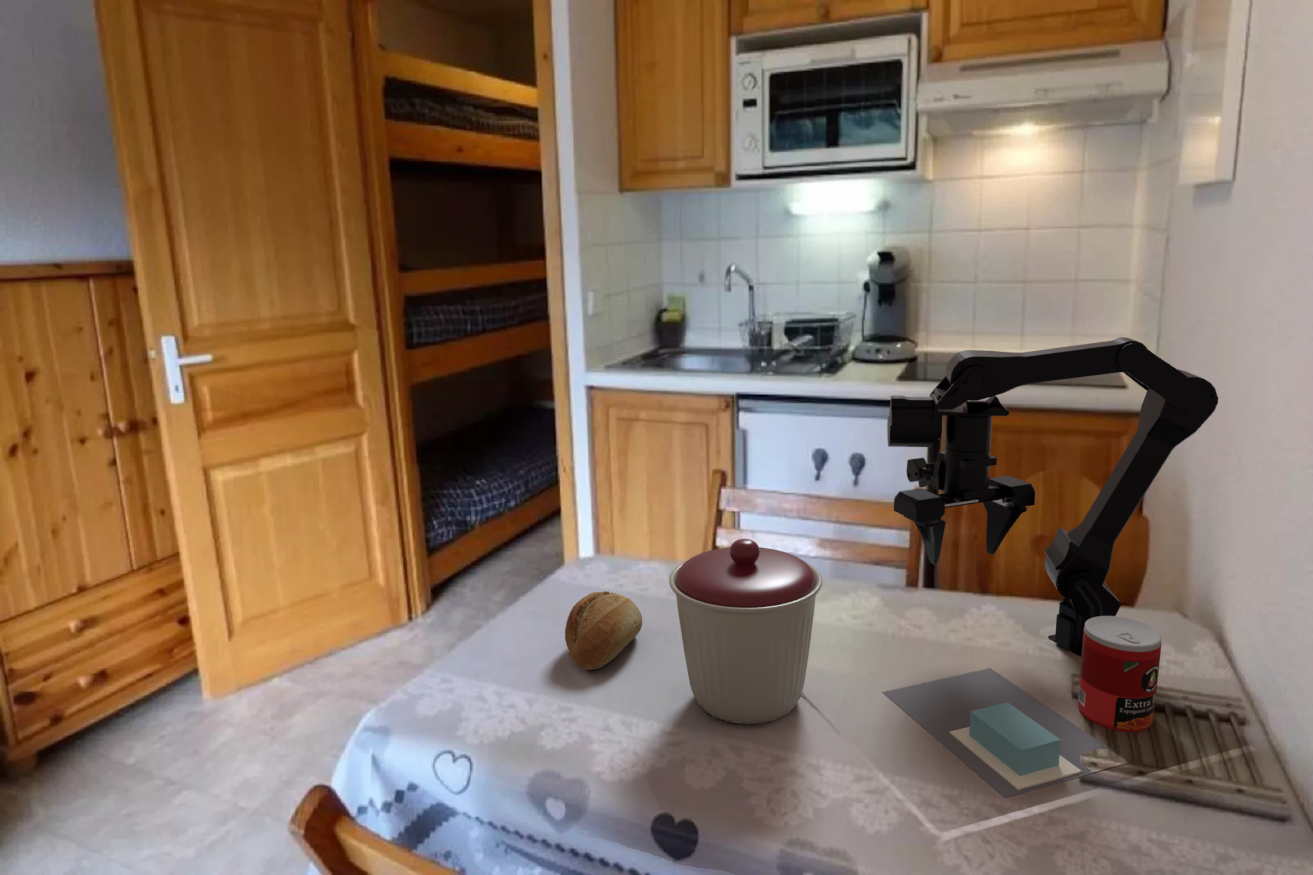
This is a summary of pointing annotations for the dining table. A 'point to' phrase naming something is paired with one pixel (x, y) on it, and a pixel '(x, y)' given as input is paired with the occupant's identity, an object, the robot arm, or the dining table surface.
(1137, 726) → the canned food
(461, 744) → the dining table surface
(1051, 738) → the block
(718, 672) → the canister
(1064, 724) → the mat
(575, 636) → the bread roll
